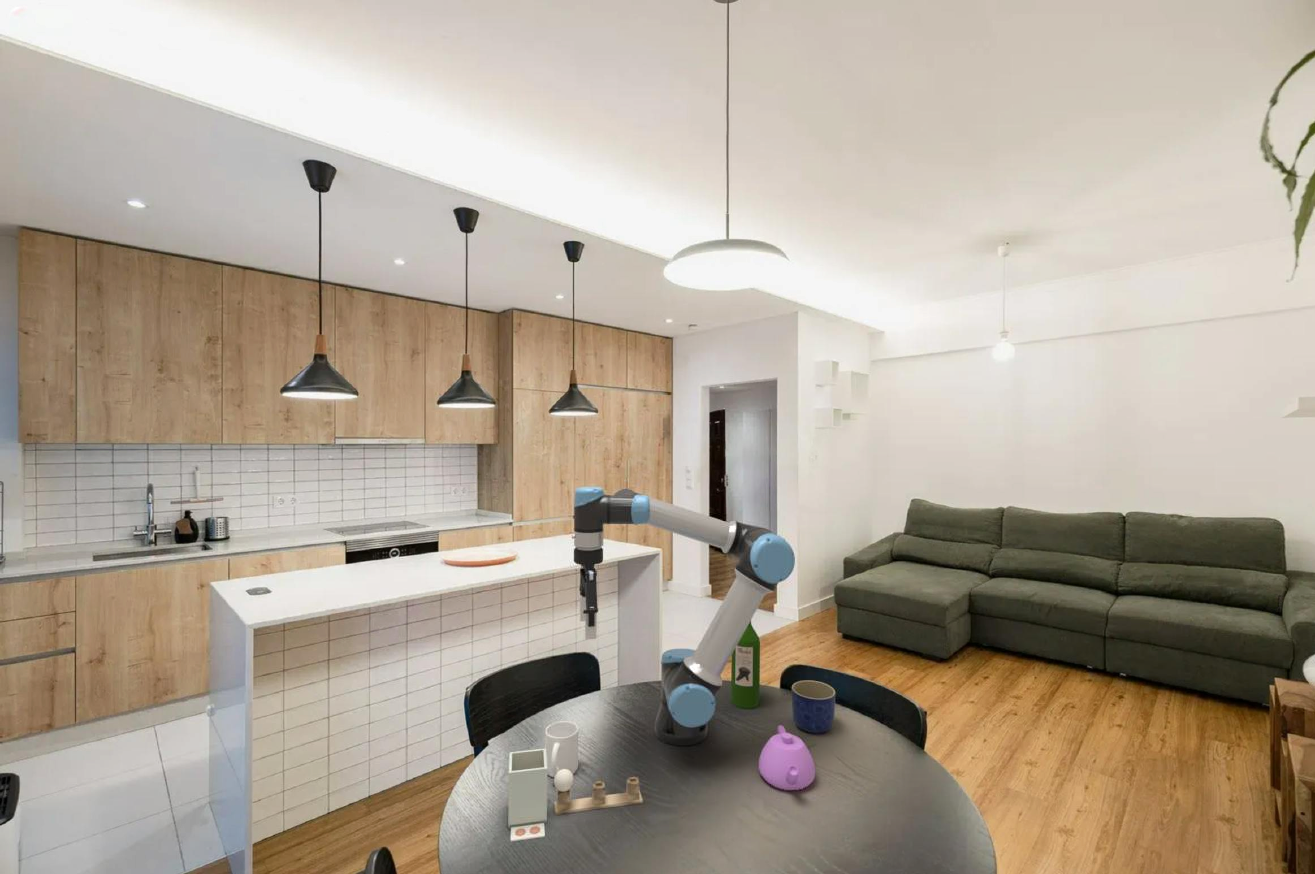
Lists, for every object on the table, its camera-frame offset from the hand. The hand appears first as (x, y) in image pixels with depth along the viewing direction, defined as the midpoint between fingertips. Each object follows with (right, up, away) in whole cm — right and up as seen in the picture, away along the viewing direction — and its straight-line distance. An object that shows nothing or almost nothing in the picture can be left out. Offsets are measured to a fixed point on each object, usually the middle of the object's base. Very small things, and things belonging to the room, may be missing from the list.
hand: (587, 629), depth 150 cm
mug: (-7, -35, -4) cm, 36 cm away
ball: (-3, -31, -18) cm, 36 cm away
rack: (+4, -35, -16) cm, 39 cm away
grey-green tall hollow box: (-11, -35, -19) cm, 41 cm away
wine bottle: (+46, -35, +35) cm, 67 cm away
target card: (-10, -35, -26) cm, 45 cm away
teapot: (+50, -36, -5) cm, 62 cm away
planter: (+64, -35, +20) cm, 76 cm away
